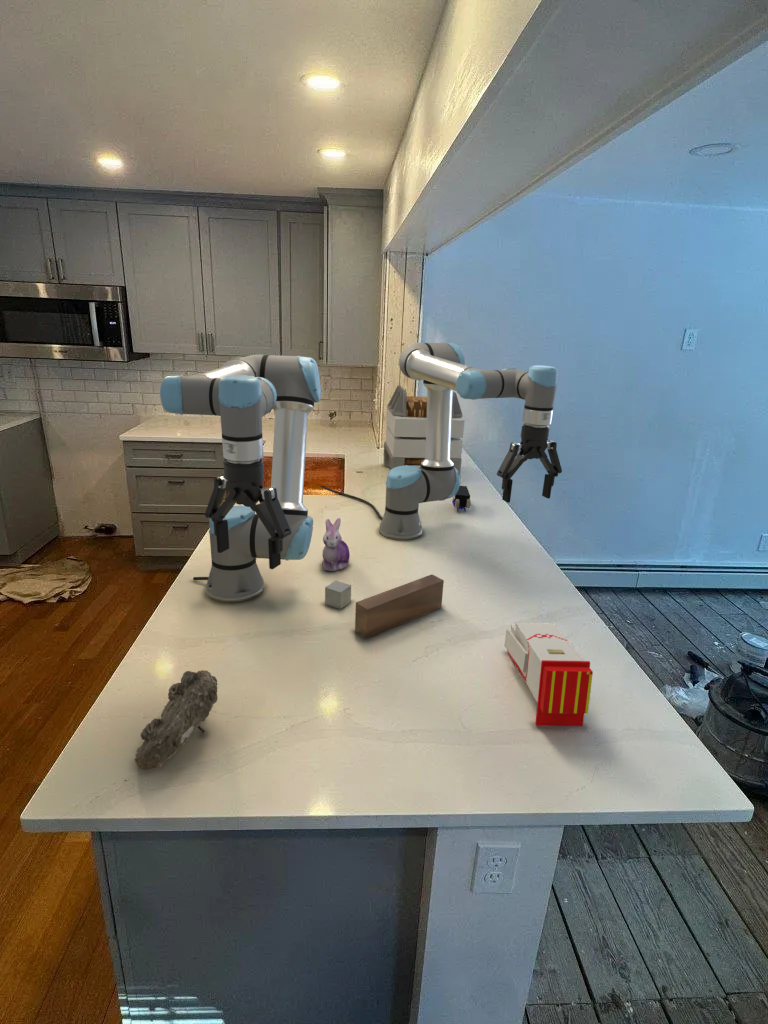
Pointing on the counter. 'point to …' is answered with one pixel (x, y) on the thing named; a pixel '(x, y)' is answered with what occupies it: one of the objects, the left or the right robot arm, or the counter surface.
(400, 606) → the walnut block
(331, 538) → the figurine
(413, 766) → the counter surface
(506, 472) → the right robot arm
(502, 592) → the counter surface
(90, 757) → the counter surface
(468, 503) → the figurine character
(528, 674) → the toy
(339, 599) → the grey ceramic block
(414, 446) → the white slatted box
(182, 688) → the fossil
